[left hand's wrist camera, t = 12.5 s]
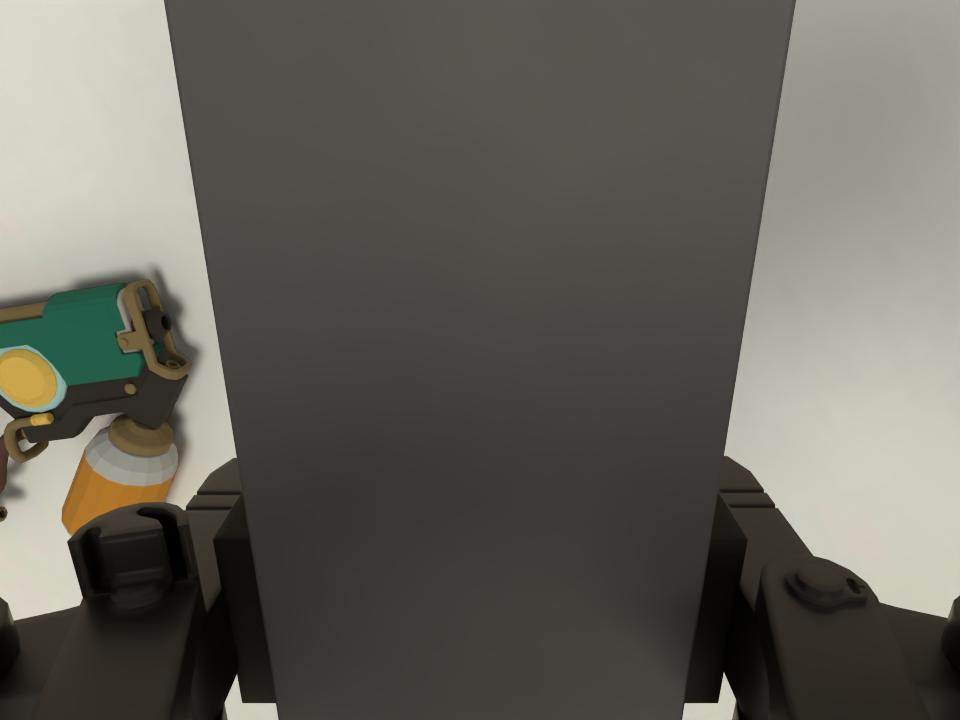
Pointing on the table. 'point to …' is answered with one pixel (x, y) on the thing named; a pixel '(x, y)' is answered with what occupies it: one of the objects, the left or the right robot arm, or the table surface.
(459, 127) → the beam
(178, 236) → the table surface
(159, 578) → the left robot arm
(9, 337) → the spray gun
